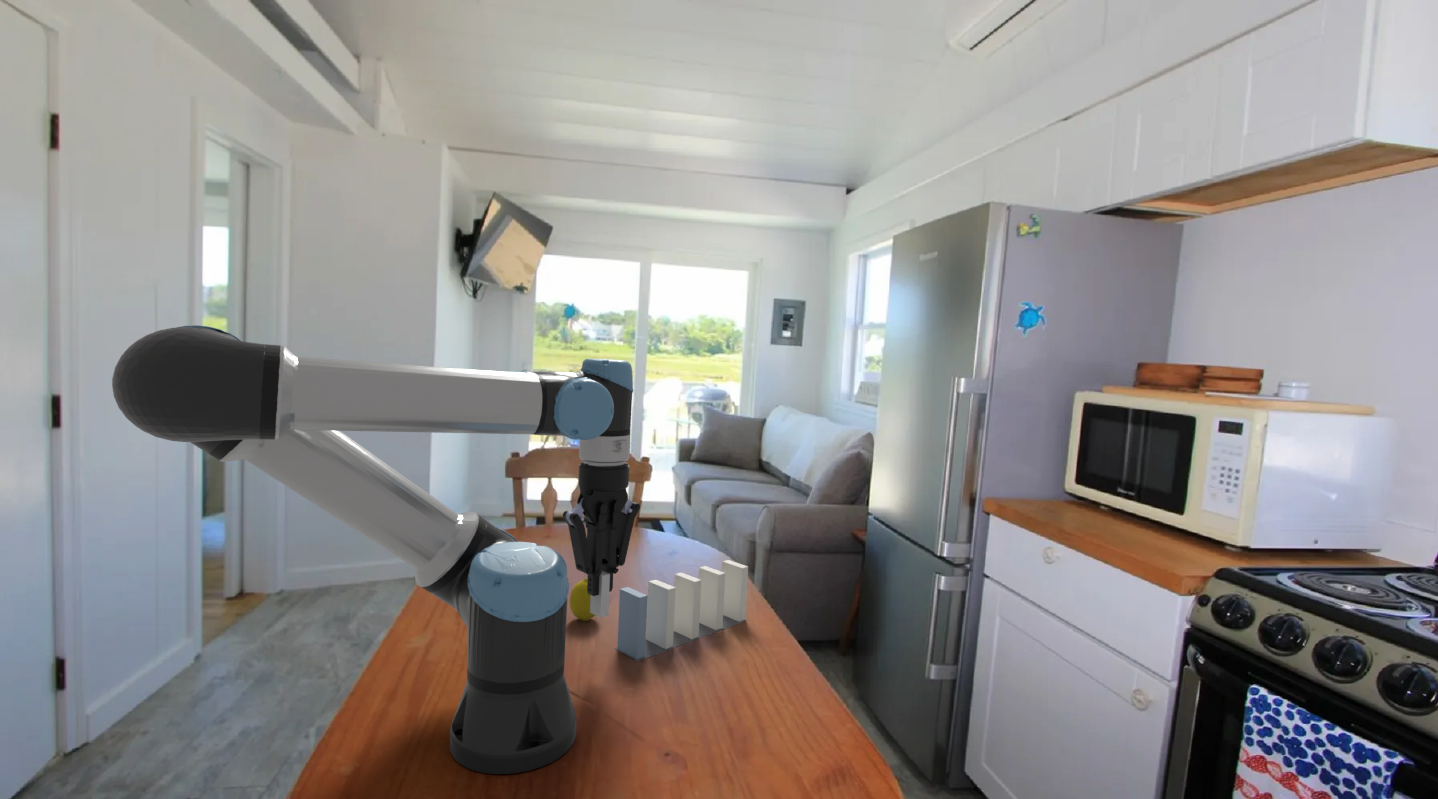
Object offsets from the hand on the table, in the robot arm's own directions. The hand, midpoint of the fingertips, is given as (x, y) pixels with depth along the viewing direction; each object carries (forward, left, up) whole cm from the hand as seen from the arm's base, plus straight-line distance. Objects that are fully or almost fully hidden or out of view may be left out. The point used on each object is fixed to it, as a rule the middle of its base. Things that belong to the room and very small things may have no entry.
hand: (599, 613), depth 106 cm
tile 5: (+25, -17, -8) cm, 32 cm away
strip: (+15, -10, -9) cm, 20 cm away
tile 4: (+20, -14, -8) cm, 26 cm away
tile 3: (+15, -10, -8) cm, 20 cm away
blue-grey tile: (+6, -4, -8) cm, 10 cm away
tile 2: (+10, -7, -8) cm, 15 cm away
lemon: (+16, +8, -9) cm, 20 cm away
